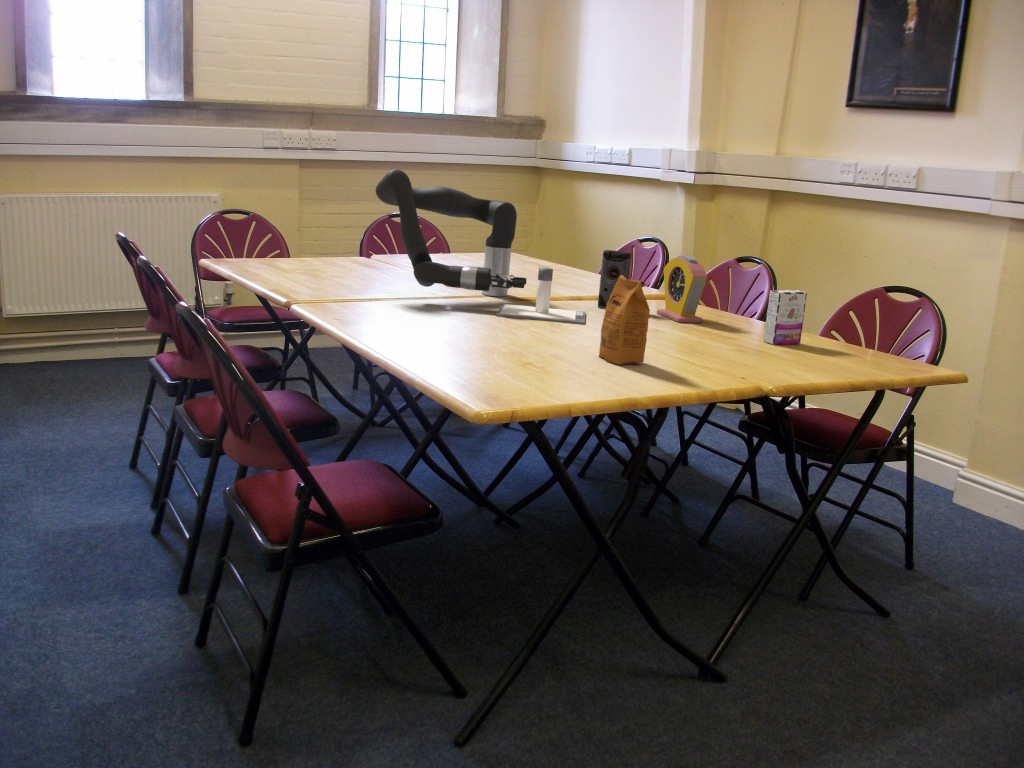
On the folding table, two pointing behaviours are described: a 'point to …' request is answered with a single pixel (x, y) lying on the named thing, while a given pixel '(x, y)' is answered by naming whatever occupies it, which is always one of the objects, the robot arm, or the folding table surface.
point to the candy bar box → (785, 317)
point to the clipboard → (541, 314)
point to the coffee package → (625, 323)
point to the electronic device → (612, 273)
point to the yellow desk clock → (683, 289)
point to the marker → (544, 290)
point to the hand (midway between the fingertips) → (525, 283)
